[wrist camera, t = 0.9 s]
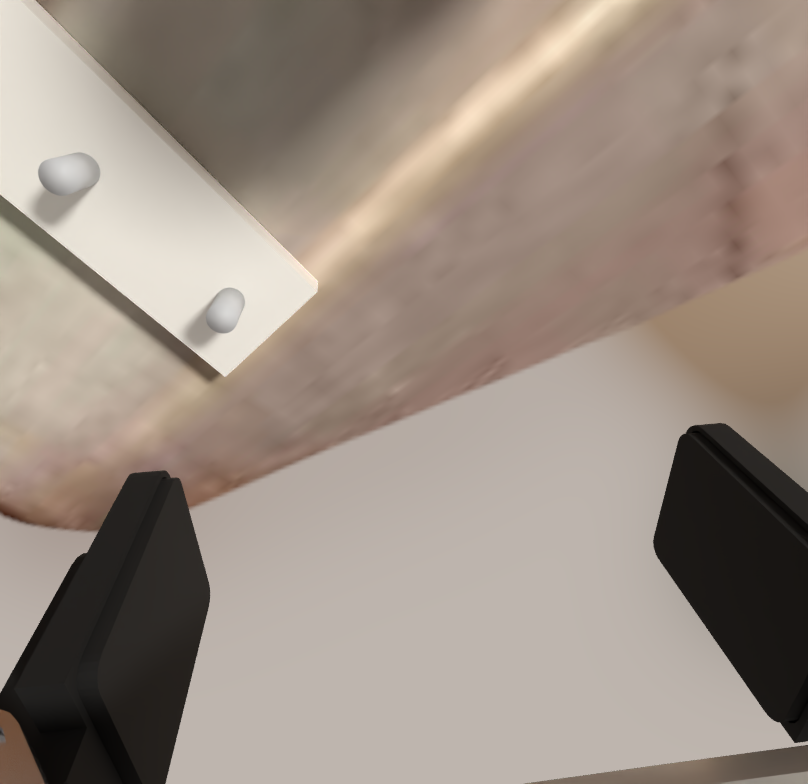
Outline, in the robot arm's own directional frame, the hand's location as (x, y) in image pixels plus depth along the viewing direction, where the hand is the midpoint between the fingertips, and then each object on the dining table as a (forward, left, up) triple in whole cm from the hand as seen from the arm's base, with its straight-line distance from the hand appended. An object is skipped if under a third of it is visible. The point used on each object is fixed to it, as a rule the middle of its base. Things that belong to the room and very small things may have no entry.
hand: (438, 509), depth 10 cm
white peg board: (-12, -8, -26) cm, 29 cm away
